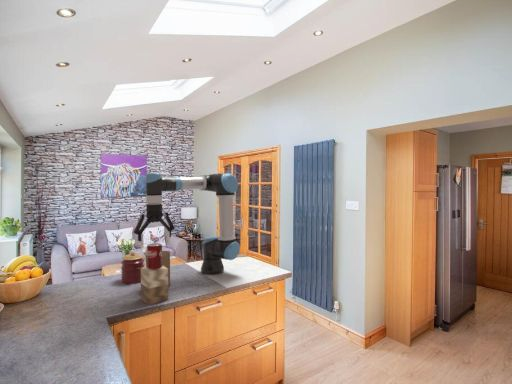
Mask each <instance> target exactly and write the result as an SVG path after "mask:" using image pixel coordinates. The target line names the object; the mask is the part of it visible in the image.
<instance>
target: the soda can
mask: <svg viewBox="0 0 512 384" xmlns="http://www.w3.org/2000/svg"><path fill="white" fill-rule="evenodd" d="M162 251H163V245H162V244H161V243H160V242H159V243H158V242H156V243H155V242H154V243H148V244H147V245H146V254H147V268H148V269H149V270H157V269H160V268H161V267H162Z"/></svg>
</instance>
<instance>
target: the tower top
mask: <svg viewBox="0 0 512 384" xmlns="http://www.w3.org/2000/svg"><path fill="white" fill-rule="evenodd" d="M141 284H143V285H144V286H145V287H147V288H148V289H149V288H154V287H158V286H162V285H167V284H168V268H166V267H164V266H162V267H161V268H160V269H157V270H149V269H148V268H147V267H146V266H144V267H142V268H141V282H140V285H141Z"/></svg>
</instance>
